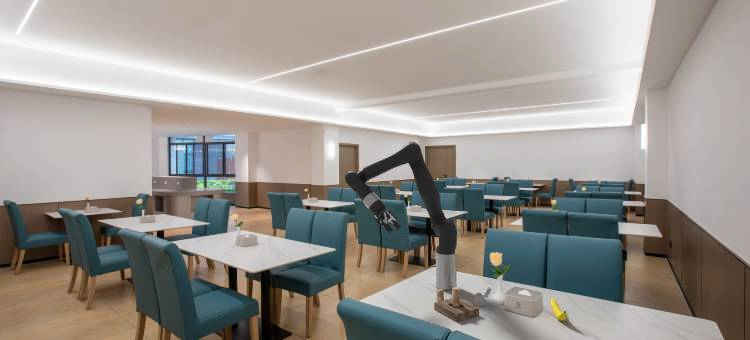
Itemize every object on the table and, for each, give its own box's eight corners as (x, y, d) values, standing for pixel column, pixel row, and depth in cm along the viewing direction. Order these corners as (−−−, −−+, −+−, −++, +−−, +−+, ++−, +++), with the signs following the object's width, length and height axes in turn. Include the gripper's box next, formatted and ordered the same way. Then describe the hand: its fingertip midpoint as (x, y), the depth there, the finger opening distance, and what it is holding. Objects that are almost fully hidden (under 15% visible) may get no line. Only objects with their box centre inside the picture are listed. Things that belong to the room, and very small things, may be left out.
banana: (556, 308, 158) (556, 293, 158) (569, 328, 140) (569, 311, 140) (548, 307, 159) (548, 293, 159) (561, 327, 140) (561, 311, 140)
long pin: (456, 310, 157) (456, 286, 157) (461, 313, 154) (461, 289, 154) (450, 311, 155) (450, 288, 155) (455, 314, 153) (455, 290, 152)
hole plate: (455, 304, 164) (455, 297, 164) (479, 315, 152) (479, 308, 151) (434, 309, 158) (434, 302, 158) (456, 322, 146) (456, 314, 146)
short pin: (440, 298, 171) (440, 288, 170) (445, 300, 168) (445, 290, 168) (435, 299, 169) (435, 289, 169) (439, 302, 166) (439, 292, 166)
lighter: (474, 305, 162) (474, 287, 162) (474, 303, 164) (474, 285, 164) (491, 307, 160) (491, 288, 160) (491, 305, 162) (491, 287, 162)
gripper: (371, 200, 171) (393, 227, 166) (386, 197, 184) (407, 222, 178) (361, 211, 174) (383, 238, 169) (377, 207, 186) (397, 232, 181)
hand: (395, 230), depth 173 cm, fingers open, 8 cm apart
